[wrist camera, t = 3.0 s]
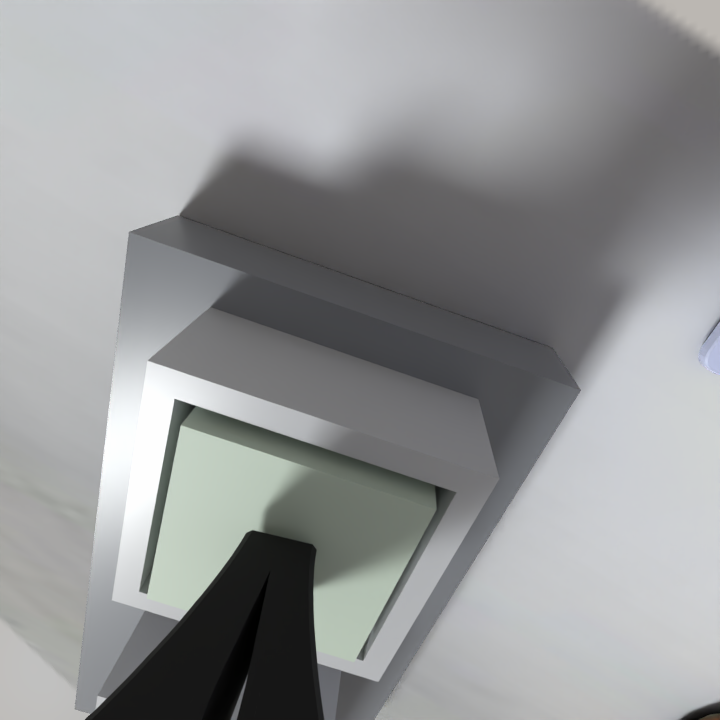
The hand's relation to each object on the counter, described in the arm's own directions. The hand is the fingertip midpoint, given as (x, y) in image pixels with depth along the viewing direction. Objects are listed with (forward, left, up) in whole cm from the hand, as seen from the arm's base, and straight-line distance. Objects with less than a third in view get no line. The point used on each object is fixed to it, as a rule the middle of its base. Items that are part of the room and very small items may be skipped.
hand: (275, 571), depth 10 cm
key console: (0, +6, -6) cm, 8 cm away
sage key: (0, 0, -2) cm, 2 cm away
